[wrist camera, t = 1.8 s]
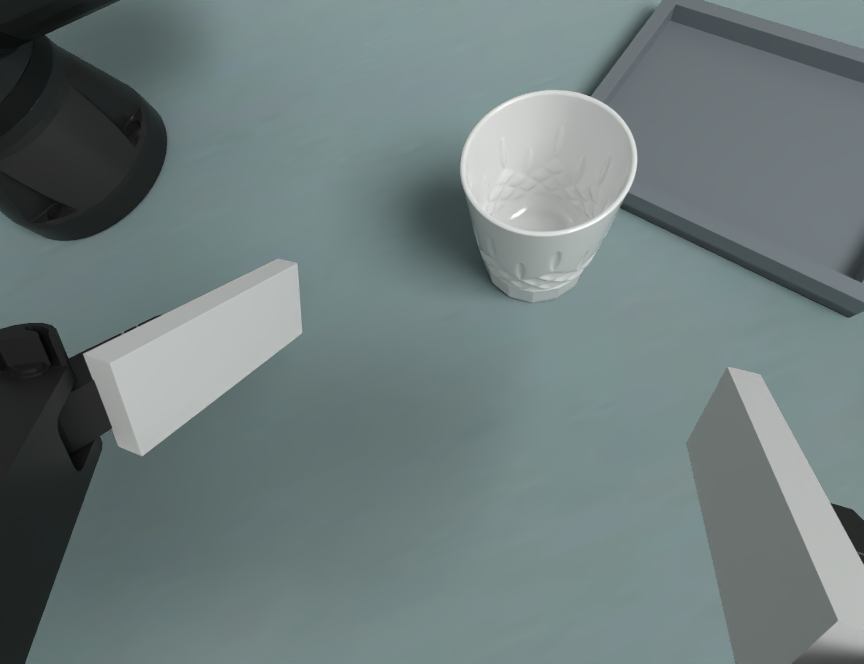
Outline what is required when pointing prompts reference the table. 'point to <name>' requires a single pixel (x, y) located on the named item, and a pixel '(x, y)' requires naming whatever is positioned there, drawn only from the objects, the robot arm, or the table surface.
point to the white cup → (545, 188)
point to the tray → (749, 144)
